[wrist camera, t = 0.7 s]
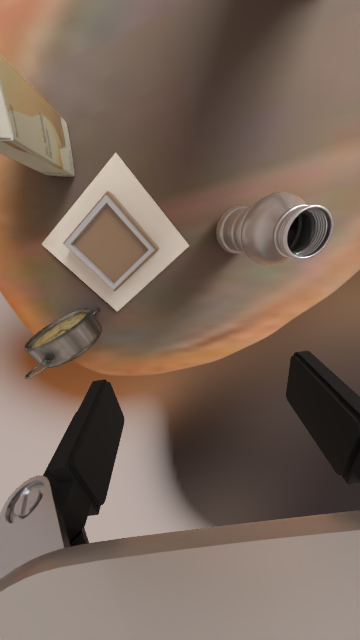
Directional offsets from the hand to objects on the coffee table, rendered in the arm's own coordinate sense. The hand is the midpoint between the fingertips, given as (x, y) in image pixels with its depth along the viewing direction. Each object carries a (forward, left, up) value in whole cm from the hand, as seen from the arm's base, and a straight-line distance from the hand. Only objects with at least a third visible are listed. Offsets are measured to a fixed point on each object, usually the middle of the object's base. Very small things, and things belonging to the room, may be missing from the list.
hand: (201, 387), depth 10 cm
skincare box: (+2, -25, -28) cm, 37 cm away
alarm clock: (+21, -6, -28) cm, 35 cm away
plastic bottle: (-11, 0, -28) cm, 30 cm away
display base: (+5, -11, -28) cm, 30 cm away
